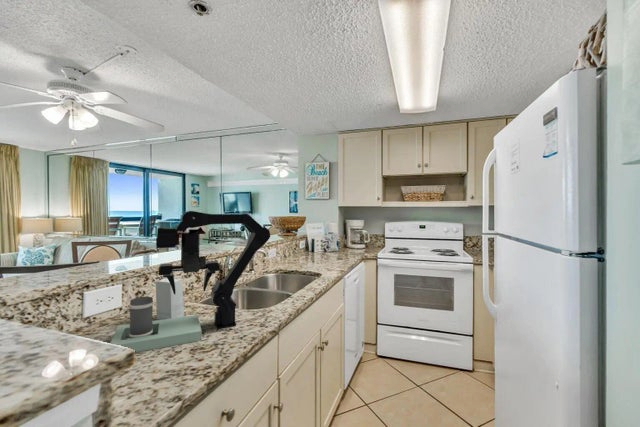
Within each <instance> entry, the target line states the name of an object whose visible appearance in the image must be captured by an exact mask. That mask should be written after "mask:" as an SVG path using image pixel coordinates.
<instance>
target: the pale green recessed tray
mask: <svg viewBox="0 0 640 427" xmlns="http://www.w3.org/2000/svg"><path fill="white" fill-rule="evenodd" d="M201 327H202V326H201V324H200V319H199V316H198V314H193V315H192V314H191V315H186V316H185V315H184V317H177V318H170V319H163V320H158V319H156V320H152V329H153V333H152V335H150V336H144V337H137V338H131V339H130V337H129V333H130V323H128V324H122V325H117V327H116V330H115V331H114V334H113V337H112V339H111V341H110V343H111V344H116V345H121V346H124V347H128V348H131V349H133V350H135V351H136V352H135V353H139V352H140V353H141V352H145V351H151V350H156V349H160V348H167V347H172V346H178V345H183V344H189V343H194V342H199V341H202V340H203V339H202V338H203V336H202V333H203V332H202V328H201ZM126 338H127V339H126Z"/></svg>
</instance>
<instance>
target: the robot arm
mask: <svg viewBox="0 0 640 427" xmlns="http://www.w3.org/2000/svg"><path fill="white" fill-rule="evenodd" d="M179 222H180V223H179V224H177V225H176V227H175V228H173V227H172V228H171V227H170V228H168V227H167V228H165V227H157V228H156V229H157V230H156V231H157V232H156V239H155V248H156V249H175V248H176V246H178V245H180V247H181V248H180V251H181V252H180V264H179V265H173V263H161V264H159V266H158V276H162V277H163V278H167V279H168V280H169V282H170V284H171V287H172V290H173V293H174V295H175V282H174V279H175V276H174V272H182V273H184V274H189V273H199V272H200V270H204V278H203V285H202V288H203V290H202V291H203V292H205V291H206V289H207V286H208V283H209V281H210V279H211V277H212V275H213V274H216V273H217V272H219V271H220V268H221V267H220V266H221V264H220V263H219V262H218V261H217V260H210V261H209V260H207V257H206V256H205V255H204V256H203V255H202V256H200V240H201V239H200V235H206V231H205V230H203V228H202V227H205V226H209V225H237V224H238V225H239V224H240V225H243V226H244V227H245V229H246V230H247V231H249V233H250V234H249V237H248V239H247V243H246V246H245V247H244V249H243V250H242V252H241V253H240V254H239V256H238V257H237V259H236V260H235V262H234V264H233V266H232V267H231V268H230V270H229V271H228V273H227V274H226V276H225V277H224V278H223V279H222V280H220V279H217V280H216V281H215V284H214V285H213V286H212V287H211V288H210V289H211V292H210V297H211V300H212V302H213V304H214V305H215V306H216V307H215V311H214V316H213V318H214V319H213V323H214V325H215V326H216V328H217V329H224V328H229V327H235V326H237V323H236V308H237V303H236V302H235V300H234V299H233V297H232V295H233V293H234V289H235V286H236V285H237V282H238V280H239V279H240V277H242V275H243V273H244V271H245V270H246V268H247V266H248V265H249V263H250V262H251V260H252V259H253V258H254V256H255V254H256V253H257V251H259V250H260V249H261V248H263V246H264V245H266V243H267V242H268V241H269V240H270V238H271V232H270V229H269V228H267V227H264V226H262V225H261V224H260V223H259V222H258V221H256V220H255V219H254V218H253V217H252V216H251V215H250V214H249V213H207V212H201V211H195V210H194V211H193V210H188V211H185V212H184V213H183V214H182V216H181V221H179ZM196 228H197V229H196ZM187 229H188V231H185V230H187ZM184 231H185V232H184ZM180 235H181V239H180ZM180 243H181V244H180Z"/></svg>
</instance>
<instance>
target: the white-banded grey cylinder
mask: <svg viewBox="0 0 640 427" xmlns="http://www.w3.org/2000/svg"><path fill="white" fill-rule="evenodd" d="M153 306H154V297H152V296H142V297H141V296H140V297H139V296H138V297H134V298H132V299H130V301H129V324H130V333H129V337H128V338H129V339H131V338H137V337H144V336H150V335H153V334H154V333H153V329H152V321H153V312H154V311H153V310H154V309H153Z"/></svg>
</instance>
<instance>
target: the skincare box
mask: <svg viewBox="0 0 640 427" xmlns="http://www.w3.org/2000/svg"><path fill="white" fill-rule="evenodd" d="M183 280H184V279H183V278H174V282H175V295H174V293H173V290H172V287H171V284H170V282H169V280H168V279H167V277H165V278H162V279H160V280H156V281H155V304H156V320H163V319H170V318H177V317H184V316H185V314H184V313H185V306H184V284H183Z"/></svg>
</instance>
